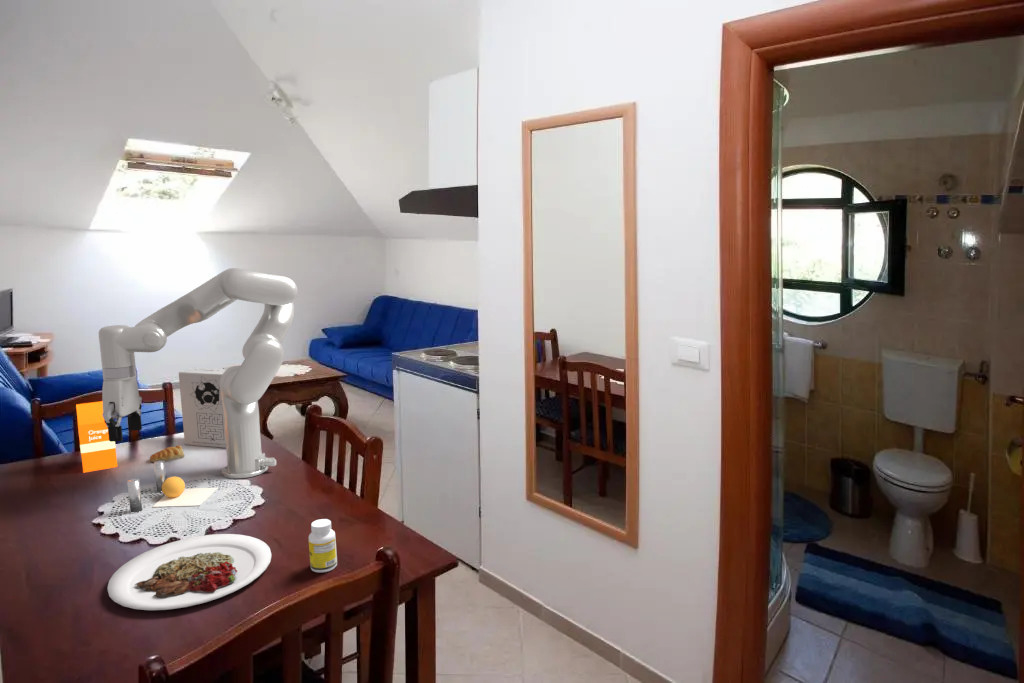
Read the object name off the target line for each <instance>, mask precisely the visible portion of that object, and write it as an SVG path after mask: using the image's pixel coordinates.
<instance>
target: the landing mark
mask: <svg viewBox="0 0 1024 683" xmlns="http://www.w3.org/2000/svg"><path fill="white" fill-rule="evenodd" d="M218 489H219V487H194V488H193V487H191V488H185V489H184V491H183V493H182V494H181V495H179V496H177V497H174V498H170V497H167V496H165V495H164V496H163V497H162V498H161V499H160V500H158V501H157V502H156V503H154V505H152V506H151V508H178V507H185V508H187V507H201V506H202V505H203V504H204V503H205V502H206V501H207V500H208V499H209V498H210V497H211V496H212V495H213V494H214V493H215V492H216V491H218ZM204 501H205V502H204ZM203 502H204V503H203ZM202 503H203V504H202ZM201 504H202V505H201ZM200 505H201V506H200Z"/></svg>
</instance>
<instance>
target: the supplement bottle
mask: <svg viewBox="0 0 1024 683" xmlns="http://www.w3.org/2000/svg"><path fill="white" fill-rule="evenodd" d="M310 528H311V529H310V531H311V532H310V533H309V535H308V549H309V550H308V553H309V566H310V569H311V571H312V572H315V573H321V574H322V573H327V572H330V571H332V570H334V569H335V568H336V567H337V566H338V554H337V542H336V540H337V539H336V532H335V530H333V529H332V520H330V519H328V518H321V519H316V520H314V521H312V522H311V525H310Z"/></svg>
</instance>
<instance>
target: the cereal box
mask: <svg viewBox="0 0 1024 683" xmlns="http://www.w3.org/2000/svg"><path fill="white" fill-rule="evenodd" d="M227 369H228V368H210V367H209V368H208V367H192V368H189V369H186V370H184V369H183V370H182V371H181V370H180V371H179V372H178V380H179V382H178V383H179V393H180V403H181V404H180V405H181V417H182V428H183V429H182V430H183V440H184V445H185V446H186V445H188V446H199V447H211V448H223V449H226V439H225V426H224V413H223V404H222V398H221V392H220V379H221V376H222V374H223V373H224V372H225V371H226V370H227Z"/></svg>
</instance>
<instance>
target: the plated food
mask: <svg viewBox="0 0 1024 683" xmlns="http://www.w3.org/2000/svg"><path fill="white" fill-rule="evenodd" d="M271 551H272V550H271V548H270V546H269V545H268V544H267V543H266V542H264V541H263V540H261V539H259V538H257V537H253V536H250V535H245V534H235V533H220V534H219V533H215V534H213V533H212V534H206V535H198V536H194V537H187V538H182V539H180V540H179V539H178V540H176V541H172V542H167V543H166V544H163V545H159V546H157V547H156V546H155V548H152V549H150V550H146V551H145V552H143V553H140V554H139V555H137V556H135V557H133V558H132V559H130V560H129V561H127V562H126V563H124V564H123V565H121V566H120V567H119V568H118V569H116V571H115V572H114V573H113V574H112V575H111V577H110V579H109V580H108V584H107V592H108V596H109V598H110V599H111V600H112V601H113V602H114V603H117V604H118V605H120V606H122V607H125V608H130V609H133V610H142V611H143V610H144V611H167V610H174V609H181V608H188V607H193V606H196V605H200V604H204V603H208V602H211V601H213V600H217V599H220V598H223V597H225V596H227V595H230V594H232V593H234V592H236V591H239V590H240V589H242V588H244V587H246V586H247V585H249V584H251V583H252V582H254V581H255V580H257V579H258V578H259V577H260V576H261V575H262V574H263V573H264V572H266V570H267V569H268V567H269V566H270V563H271V561H272V552H271Z"/></svg>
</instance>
